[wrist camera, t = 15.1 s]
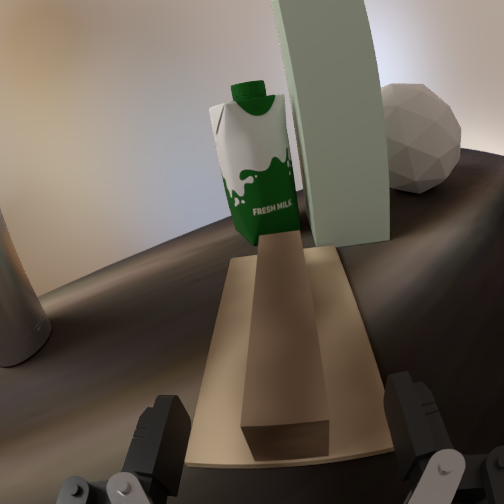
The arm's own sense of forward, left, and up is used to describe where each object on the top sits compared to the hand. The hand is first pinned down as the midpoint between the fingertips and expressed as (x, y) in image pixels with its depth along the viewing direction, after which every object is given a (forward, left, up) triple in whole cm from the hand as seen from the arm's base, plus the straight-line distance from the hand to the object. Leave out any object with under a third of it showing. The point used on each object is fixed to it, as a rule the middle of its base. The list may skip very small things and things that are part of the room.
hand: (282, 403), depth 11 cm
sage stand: (+8, +32, -7) cm, 34 cm away
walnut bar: (0, +11, -6) cm, 13 cm away
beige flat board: (0, +13, -7) cm, 15 cm away
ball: (+24, +45, -7) cm, 51 cm away
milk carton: (-2, +34, -7) cm, 35 cm away
